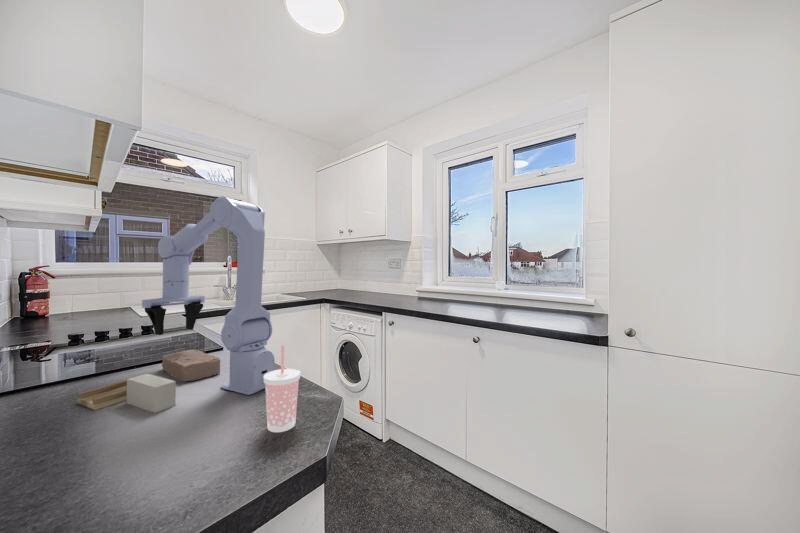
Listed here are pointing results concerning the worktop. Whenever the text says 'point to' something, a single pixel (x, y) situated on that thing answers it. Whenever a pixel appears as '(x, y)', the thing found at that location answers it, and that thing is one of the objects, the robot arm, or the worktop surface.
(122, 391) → the wooden base plate
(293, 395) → the beverage cup
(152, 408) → the white rectangular block
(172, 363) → the brick
